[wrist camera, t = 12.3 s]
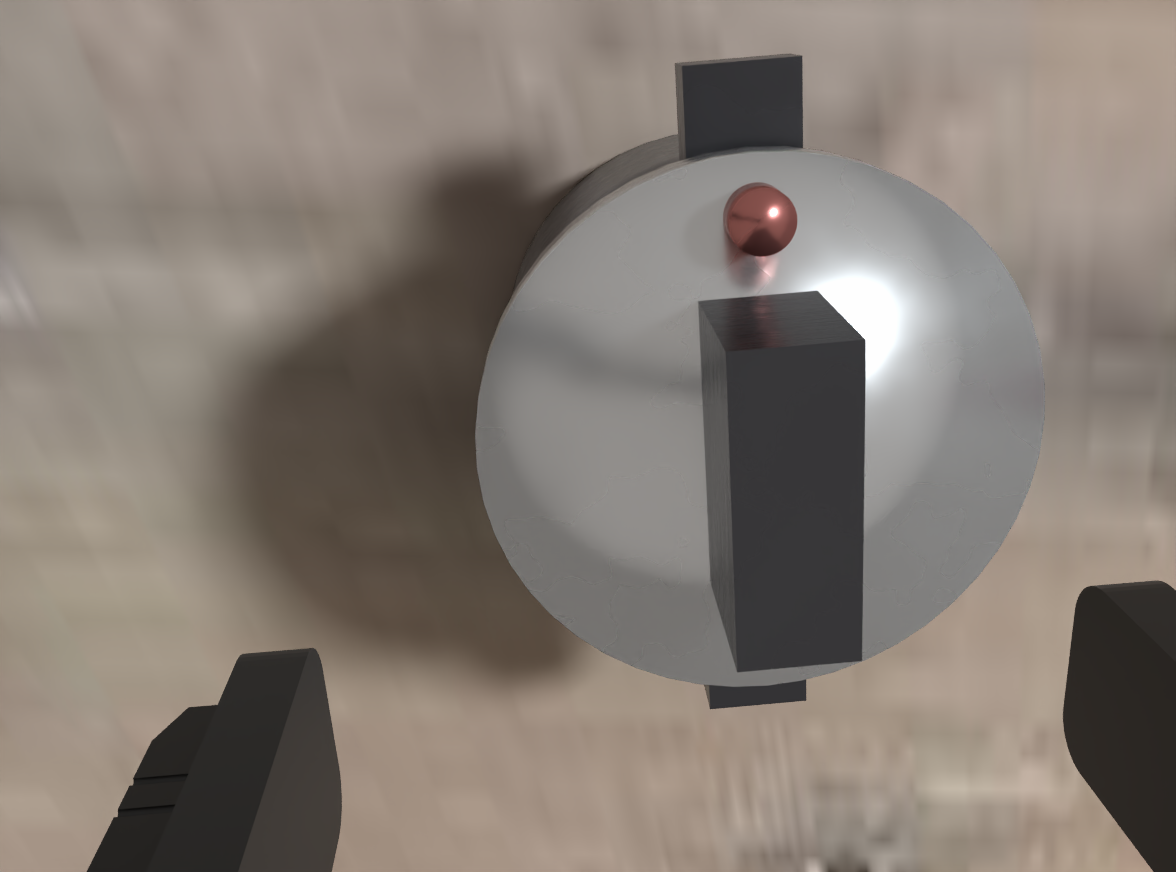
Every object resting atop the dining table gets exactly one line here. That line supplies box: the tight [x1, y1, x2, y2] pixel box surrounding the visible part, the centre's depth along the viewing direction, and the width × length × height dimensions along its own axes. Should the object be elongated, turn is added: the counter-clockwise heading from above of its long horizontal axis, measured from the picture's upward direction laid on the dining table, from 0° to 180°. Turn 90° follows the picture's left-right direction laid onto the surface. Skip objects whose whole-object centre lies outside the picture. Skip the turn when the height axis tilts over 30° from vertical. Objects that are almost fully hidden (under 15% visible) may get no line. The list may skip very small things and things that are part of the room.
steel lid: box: [475, 146, 1045, 687], centre depth 27 cm, size 15×15×6 cm
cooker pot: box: [512, 54, 806, 709], centre depth 34 cm, size 14×19×9 cm
